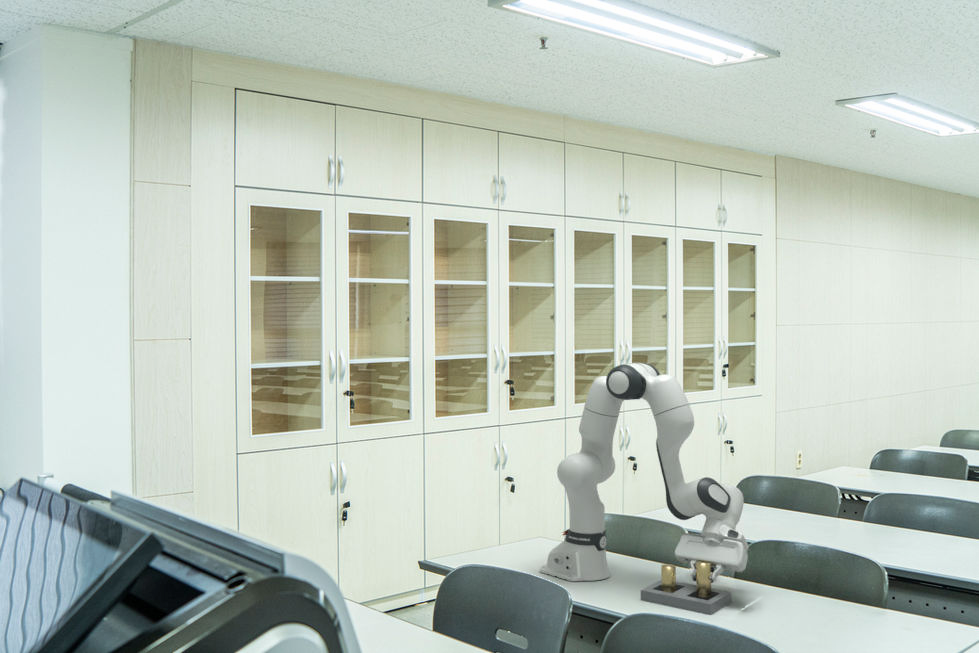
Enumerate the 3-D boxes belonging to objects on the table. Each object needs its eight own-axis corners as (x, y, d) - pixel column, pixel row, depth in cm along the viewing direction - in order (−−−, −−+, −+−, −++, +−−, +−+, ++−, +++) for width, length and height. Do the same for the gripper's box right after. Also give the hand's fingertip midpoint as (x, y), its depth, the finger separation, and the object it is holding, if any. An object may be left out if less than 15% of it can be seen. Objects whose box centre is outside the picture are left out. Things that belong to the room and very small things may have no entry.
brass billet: (694, 595, 239) (693, 563, 239) (700, 592, 242) (699, 560, 242) (707, 598, 237) (707, 565, 237) (713, 594, 240) (713, 562, 240)
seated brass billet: (659, 597, 246) (658, 566, 246) (665, 594, 249) (665, 563, 249) (671, 600, 243) (671, 568, 243) (678, 597, 246) (678, 565, 247)
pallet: (640, 602, 244) (640, 590, 244) (663, 591, 255) (663, 579, 255) (710, 617, 231) (710, 604, 231) (731, 604, 242) (731, 592, 242)
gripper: (680, 525, 252) (664, 565, 244) (747, 534, 239) (734, 578, 231) (686, 537, 255) (672, 578, 247) (754, 547, 242) (740, 590, 235)
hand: (702, 578), depth 239 cm, fingers closed on brass billet, 4 cm apart
